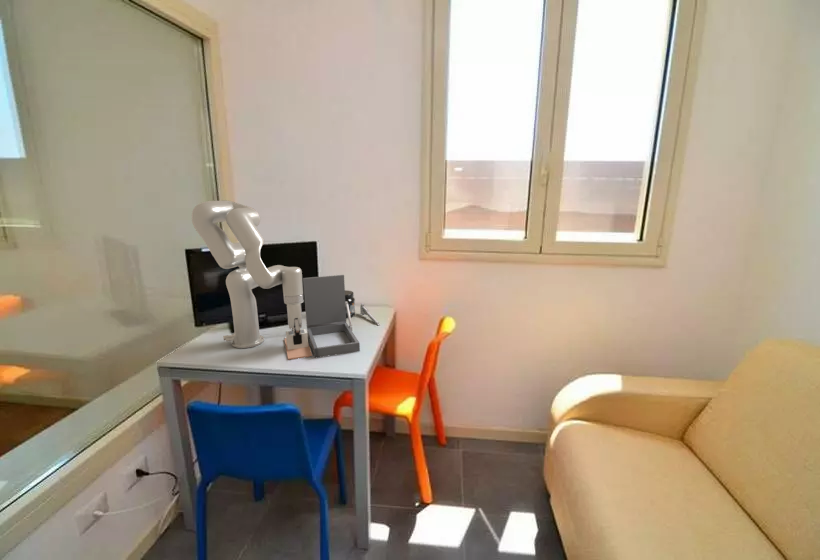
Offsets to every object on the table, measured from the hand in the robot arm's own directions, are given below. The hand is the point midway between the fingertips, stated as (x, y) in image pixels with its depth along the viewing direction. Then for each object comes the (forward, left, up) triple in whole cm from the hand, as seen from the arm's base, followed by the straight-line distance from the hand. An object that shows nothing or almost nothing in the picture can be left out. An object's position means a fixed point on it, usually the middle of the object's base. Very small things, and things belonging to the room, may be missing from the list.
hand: (297, 340), depth 162 cm
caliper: (+36, +23, -3) cm, 43 cm away
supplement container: (+26, +33, -3) cm, 42 cm away
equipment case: (+14, 0, -3) cm, 14 cm away
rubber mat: (0, 0, -3) cm, 3 cm away
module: (0, 0, -2) cm, 2 cm away
